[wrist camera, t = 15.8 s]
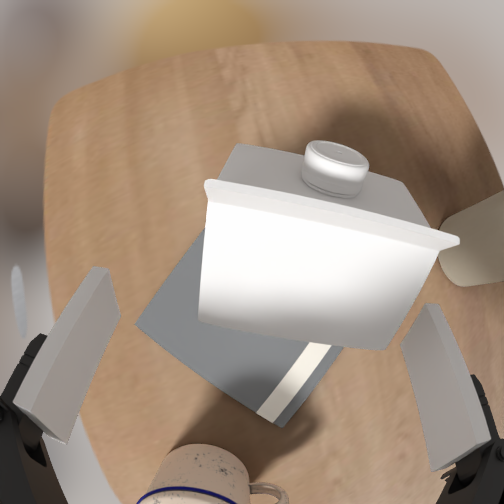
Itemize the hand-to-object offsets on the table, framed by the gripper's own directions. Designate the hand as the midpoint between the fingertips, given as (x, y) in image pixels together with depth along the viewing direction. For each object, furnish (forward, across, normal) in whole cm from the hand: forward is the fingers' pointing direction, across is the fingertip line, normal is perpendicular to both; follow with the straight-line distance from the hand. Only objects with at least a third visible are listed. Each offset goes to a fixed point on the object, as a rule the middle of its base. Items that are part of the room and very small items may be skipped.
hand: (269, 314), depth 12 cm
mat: (+11, +1, -9) cm, 14 cm away
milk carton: (+12, +1, -8) cm, 14 cm away
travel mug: (+16, +22, -5) cm, 27 cm away
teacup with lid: (-2, -2, -22) cm, 23 cm away
